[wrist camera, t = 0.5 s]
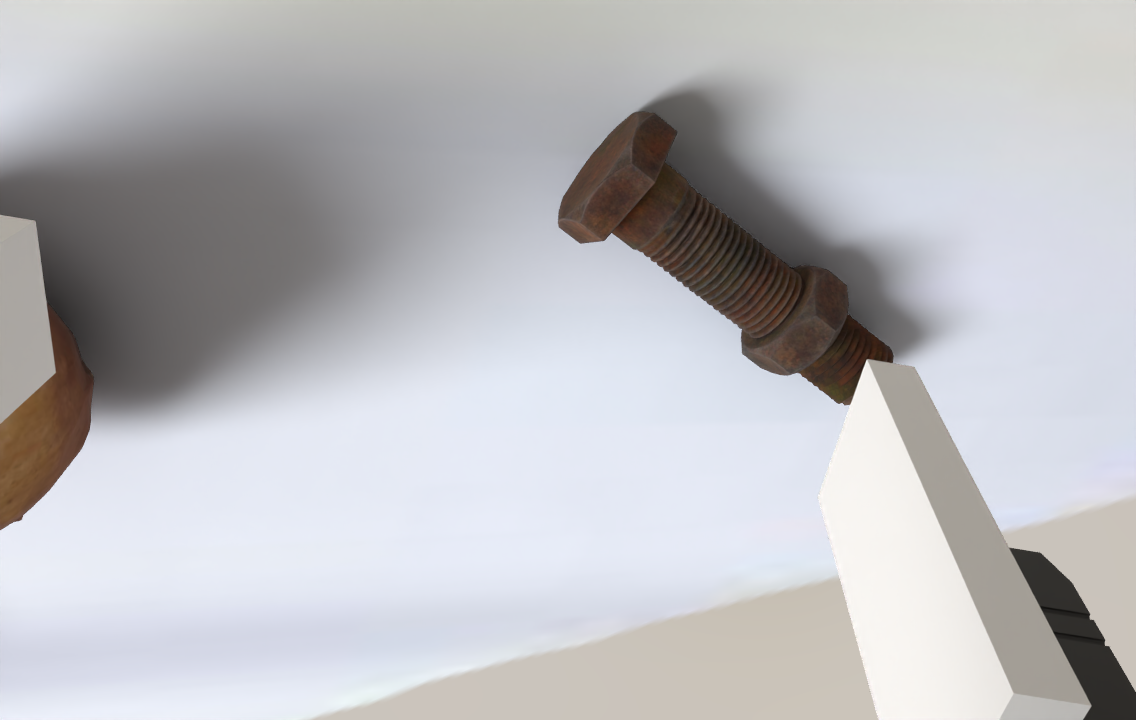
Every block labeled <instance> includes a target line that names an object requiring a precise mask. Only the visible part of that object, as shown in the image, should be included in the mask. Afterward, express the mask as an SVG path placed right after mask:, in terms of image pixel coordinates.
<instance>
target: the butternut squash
mask: <svg viewBox="0 0 1136 720" xmlns="http://www.w3.org/2000/svg"><path fill="white" fill-rule="evenodd" d="M46 302H47V301H46ZM47 310H48V317H49V325H50V332H51V340H52V347H53V355H54V362H55V370H56V373H55V374H54V375H53V376H52V377H51V378H49V379H48V380H47V381H46V382H45V383H44V384H43V385H42V386H41V387H40V388H39V389H38V390H36V391H35V392H34V393H33V394H32V395H31V396H30V397H29V398H28V399H27V400H26V401H25V402H23V403H22V404H21V405H20V406H19V407H18V408H17V409H16V410H15V411H14V412H13V413H12V414H10V415H9V416H8V417H7V418H6V419H5V420H4V421H3V422H2V423H1V424H0V530H1V529H3V528H5V527H6V526H8V525H9V524H11V523H13V522H16V521H20V520H22V517H23V515H24V514H25V513H26V512H27V511H28V510H30V509H31V508H32V507H33V506H34V505H35V504H36V503H37V502H38V501H39V500H40V499H41V498H42V497H43V496H44V495H45V494H46V493H47V492H48V491H49V490H50V489H51V488H52V486H53V485H54V484H55V482H56V481H57V480H58V479H59V477H60V476H61V475H62V474H63V472H64V471H65V470H66V468H67V467H68V466H69V465H70V463H71V462H72V461H73V459H74V458H75V457H76V456H77V454H78V453H79V452H80V450H81V449H82V447H83V445H84V443H85V440H86V437H87V435H88V432H89V430H90V422H91V403H92V394H93V384H94V376H93V375H92V373H91V371H90V370H89V369H88V368H87V366H86V365H85V363H84V362H83V360H82V358H81V355H80V352H79V348H78V345H77V342H76V339H75V337H74V335H73V333H72V332H71V331H70V329H69V328H68V327H67V326H66V324H65V323H64V322H63V321H62V319H61V318H60V317H59V316H58V314H57V313H56V312H55V311H54V310H53V308H52V307H51V306H50V305H49V304H48V303H47Z"/></svg>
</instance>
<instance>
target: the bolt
mask: <svg viewBox="0 0 1136 720" xmlns="http://www.w3.org/2000/svg"><path fill="white" fill-rule="evenodd" d="M676 134H677V131H676V130H675V129H674V128H672V127H671V126H670V125H669V124H667V123H666V122H665V121H664V120H663V119H661V118H660V117H659V116H658V115H656V114H655V113H649V112H635V113H633V114H631V115H630V116H629V117H628V118H627V119H625V120H624V121H623V122H622V123H621V124H619V125H618V126H617V127H616V128H615V129H614V130H613V131H612V132H611V133H610V134H609V135H608V136H607V138H606V139H605V140H604V141H603V143H602V144H601V145H600V146H599V147H598V148H597V149H596V150H595V152H594V153H593V154H592V155H591V157H590V158H589V159H588V161H587V162H586V163H585V165H584V166H583V168H582V169H581V170H580V172H579V173H578V175H577V176H576V178H575V179H574V181H573V183H572V184H571V186H570V187H569V189H568V190H567V192H566V193H565V195H564V196H563V199H562V202H561V206H560V209H559V216H558V225H559V228H561V229H562V230H563V231H565V232H566V233H567V234H568V235H570V236H571V237H572V238H574V239H575V240H576V241H578V242H579V243H589V242H598V241H605V240H606V238H607V237H608V236H609V235H610V234H611V233H613V234H614V235H615V236H617V237H618V238H619V239H621V240H622V241H623V242H625V243H626V244H627V245H629V246H630V247H631V248H632V249H636V250H638V251H640V252H643V253H644V255H645V256H647V257H650V258H651V261H653V262H657V265H658V266H660V267H663V269H664V271H667V272H669V274H670V275H671V276H672V277H676V279H677V281H679V282H682V283H683V285H684V286H685V287H689V290H690V291H692V292H695V294H696V295H697V296H700V297H701V298H702V299H703V300H704V301H706V302H707V303H708V304H709V305H712V306H713V307H714V309H715V310H719V312H720V313H721V314H722V315H725V316H726V318H727V319H731V321H732V322H733V323H734V324H737V325H738V327H739V328H741V329H742V333H741V342H742V354H743V355H744V356H746V357H747V358H748V359H750V360H751V361H752V362H754V363H755V364H756V365H758V366H759V367H760V368H762V369H765V370H767V371H769V372H772V373H775V374H779V375H791V374H794V373H800V374H801V375H802V377H804V378H807V380H808V381H809V382H812V383H813V385H814V386H817V387H818V388H819V390H821V391H823V392H824V393H825V394H827V395H828V396H829V397H830V398H831V399H833V400H834V401H835V402H836V403H838V404H840V403H843V404H844V405H851V402H852V399H853V396H854V394H855V391H856V388H857V385H858V382H859V380H860V377H861V374H862V371H863V368H864V366H865V363H866V360H867V359H869V360H875V361H881V362H887V363H893V353H892V350H891V349H890V347H888V346H887V345H885V344H884V342H882V341H880V340H879V339H878V338H877V337H875V336H874V335H873V334H871V333H870V332H868V330H867V329H866V328H863V326H862V325H861V324H858V322H857V321H855V320H854V319H852V318H851V316H850V315H848V314H847V312H848V306H849V302H848V292H847V285H845V284H844V283H843V282H842V281H841V280H839V279H838V278H837V277H836V276H834V275H833V274H832V273H831V272H830V271H828V270H826V269H822V268H819V267H814V266H807V265H804V266H799V267H796V268H794V269H792V268H790V267H789V266H788V265H787V264H786V263H783V261H782V260H781V259H779V258H778V257H776V255H774V254H772V253H771V252H770V250H768V249H766V248H764V246H763V245H762V244H761V243H758V242H757V240H756V239H755V238H752V237H751V235H750V234H748V233H746V231H745V230H743V229H741V228H740V226H739V225H737V224H735V223H733V221H732V219H729V218H727V216H726V215H725V214H723V213H721V211H720V210H719V209H717V208H715V206H714V205H713V204H711V203H709V202H708V201H707V199H706V198H702V196H701V194H699V193H697V192H696V191H695V189H693V188H692V187H691V186H689V184H688V181H687V180H686V179H685V178H683V177H682V176H681V175H680V174H679V173H677V172H676V171H675V170H674V169H673V168H671V167H670V166H669V165H668V164H666V163H665V162H664V161H665V159H666V157H667V155H668V152H669V150H670V148H671V145H672V143H673V141H674V139H675V136H676Z"/></svg>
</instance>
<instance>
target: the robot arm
mask: <svg viewBox="0 0 1136 720" xmlns="http://www.w3.org/2000/svg"><path fill="white" fill-rule="evenodd" d="M55 373H56V370H55V362H54V355H53V347H52V340H51V332H50V325H49V317H48V310H47V302H46V295H45V287H44V280H43V272H42V265H41V257H40V250H39V243H38V235H37V228H36V221H34V220H28V219H22V218H16V217H10V216H4V215H0V424H1V423H2V422H3V421H4V420H5V419H6V418H7V417H8V416H9V415H10V414H12V413H13V412H14V411H15V410H16V409H17V408H18V407H19V406H20V405H21V404H22V403H23V402H25V401H26V400H27V399H28V398H29V397H30V396H31V395H32V394H33V393H34V392H35V391H36V390H38V389H39V388H40V387H41V386H42V385H43V384H44V383H45V382H46V381H47V380H48V379H49V378H51V377H52V376H53V375H54V374H55ZM818 500H819V504H820V508H821V511H822V515H823V518H824V522H825V526H826V529H827V533H828V537H829V540H830V544H831V548H832V551H833V555H834V559H835V562H836V566H837V570H838V573H839V577H840V581H841V584H842V588H843V591H844V595H845V599H846V603H847V606H848V610H849V614H850V617H851V621H852V624H853V628H854V632H855V636H856V639H857V643H858V647H859V650H860V654H861V658H862V661H863V665H864V669H865V672H866V676H867V679H868V683H869V687H870V690H871V694H872V698H873V702H874V705H875V709H876V712H877V716H878V720H1136V692H1135V690H1134V688H1133V687H1132V685H1131V683H1130V682H1129V680H1128V678H1127V676H1126V675H1125V673H1124V671H1123V670H1122V668H1121V666H1120V665H1119V663H1118V661H1117V659H1116V658H1115V656H1114V654H1113V653H1112V651H1111V649H1110V647H1109V646H1105V639H1104V637H1103V635H1102V634H1101V632H1100V630H1099V628H1098V627H1097V625H1096V623H1095V622H1094V620H1090V618H1089V616H1090V613H1089V611H1088V610H1087V608H1086V606H1085V604H1084V603H1083V601H1082V599H1081V598H1080V596H1079V594H1078V592H1077V591H1076V589H1075V587H1074V585H1073V584H1072V582H1071V581H1070V580H1069V579H1067V578H1066V577H1065V576H1064V575H1063V574H1062V573H1061V572H1060V571H1059V570H1058V569H1057V568H1056V567H1055V566H1054V565H1053V564H1052V563H1051V562H1050V561H1048V559H1046V558H1045V557H1044V556H1043V555H1042V554H1041V553H1038V552H1032V551H1026V550H1020V549H1014V548H1009V547H1008V545H1007V543H1006V541H1005V540H1004V537H1003V535H1002V534H1001V532H1000V530H999V528H998V526H997V524H996V522H995V520H994V518H993V516H992V514H991V512H990V511H989V509H988V507H987V505H986V503H985V501H984V499H983V497H982V495H981V493H980V491H979V489H978V488H977V486H976V484H975V482H974V480H973V478H972V476H971V474H970V472H969V470H968V468H967V467H966V465H965V463H964V461H963V459H962V457H961V455H960V453H959V451H958V449H957V447H956V445H955V444H954V442H953V440H952V438H951V436H950V434H949V432H948V430H947V428H946V426H945V424H944V423H943V421H942V419H941V417H940V415H939V413H938V411H937V409H936V407H935V405H934V403H933V401H932V400H931V398H930V396H929V394H928V392H927V390H926V388H925V386H924V384H923V382H922V380H921V379H920V377H919V375H918V373H917V371H916V369H915V367H912V366H906V365H900V364H894V363H887V362H881V361H875V360H869V359H867V360H866V363H865V366H864V368H863V371H862V374H861V377H860V380H859V382H858V385H857V388H856V391H855V394H854V396H853V399H852V402H851V405H850V408H849V411H848V413H847V416H846V419H845V422H844V425H843V427H842V430H841V433H840V436H839V439H838V441H837V444H836V447H835V450H834V453H833V456H832V458H831V461H830V464H829V467H828V470H827V472H826V475H825V478H824V481H823V484H822V486H821V489H820V492H819V495H818Z"/></svg>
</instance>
